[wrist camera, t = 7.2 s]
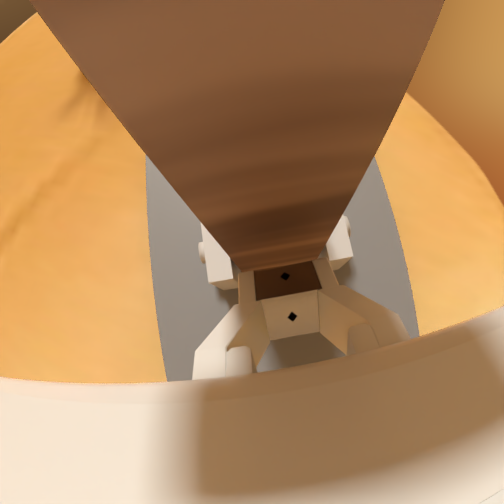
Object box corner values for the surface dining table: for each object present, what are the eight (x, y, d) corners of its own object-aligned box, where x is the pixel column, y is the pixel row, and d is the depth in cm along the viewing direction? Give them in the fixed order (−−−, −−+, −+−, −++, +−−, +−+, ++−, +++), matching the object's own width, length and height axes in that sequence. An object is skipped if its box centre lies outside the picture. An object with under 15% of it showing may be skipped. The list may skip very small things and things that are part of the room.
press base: (415, 373, 18) (454, 388, 12) (182, 416, 18) (151, 444, 13) (335, 80, 23) (342, 33, 18) (152, 113, 24) (128, 72, 18)
